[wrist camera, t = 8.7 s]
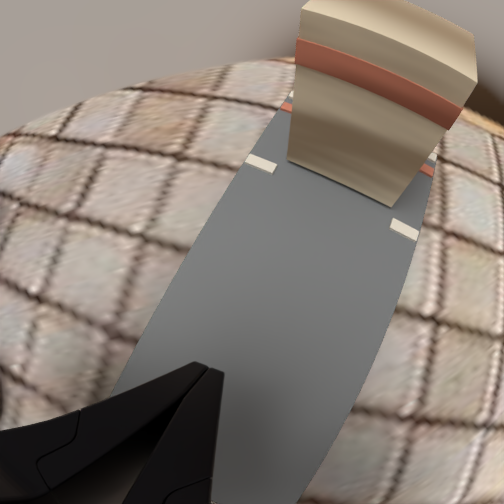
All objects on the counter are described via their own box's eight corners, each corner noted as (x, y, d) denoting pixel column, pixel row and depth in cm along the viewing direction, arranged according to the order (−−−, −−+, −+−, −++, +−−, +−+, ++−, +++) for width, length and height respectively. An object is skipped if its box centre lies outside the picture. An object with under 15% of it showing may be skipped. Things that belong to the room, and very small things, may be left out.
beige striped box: (392, 208, 16) (478, 84, 7) (285, 159, 17) (299, 8, 8) (408, 153, 17) (474, 34, 8) (313, 111, 18) (334, -24, 9)
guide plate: (277, 518, 12) (278, 529, 11) (102, 426, 14) (91, 429, 12) (430, 166, 18) (438, 155, 17) (289, 102, 20) (290, 89, 18)
